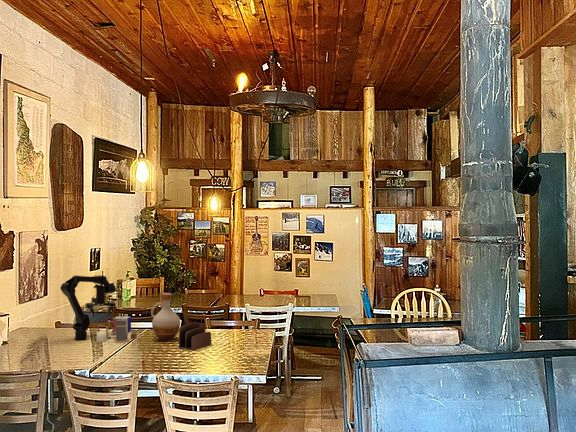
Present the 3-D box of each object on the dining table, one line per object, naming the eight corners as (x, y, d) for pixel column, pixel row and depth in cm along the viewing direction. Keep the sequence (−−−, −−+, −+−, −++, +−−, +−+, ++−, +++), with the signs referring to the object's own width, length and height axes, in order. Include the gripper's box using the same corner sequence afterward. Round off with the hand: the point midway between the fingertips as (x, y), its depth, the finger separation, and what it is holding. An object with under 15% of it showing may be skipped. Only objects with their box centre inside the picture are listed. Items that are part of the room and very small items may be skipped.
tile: (117, 342, 353) (117, 341, 353) (113, 340, 360) (113, 339, 360) (129, 341, 357) (129, 339, 357) (126, 339, 364) (126, 337, 364)
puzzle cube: (126, 333, 385) (126, 318, 386) (112, 333, 386) (112, 318, 386) (131, 330, 395) (131, 316, 396) (116, 330, 396) (117, 316, 396)
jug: (144, 341, 357) (144, 294, 358) (157, 336, 374) (157, 291, 375) (172, 343, 353) (173, 295, 353) (184, 337, 370) (185, 292, 370)
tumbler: (115, 340, 355) (116, 320, 356) (118, 338, 362) (118, 319, 362) (125, 340, 356) (125, 320, 356) (127, 338, 362) (127, 319, 362)
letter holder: (178, 349, 336) (178, 325, 337) (198, 343, 354) (198, 320, 354) (191, 350, 332) (192, 326, 332) (211, 344, 349) (211, 321, 350)
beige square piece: (97, 342, 354) (97, 333, 354) (95, 341, 359) (95, 331, 359) (107, 341, 357) (107, 332, 358) (105, 340, 362) (105, 330, 363)
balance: (96, 340, 361) (96, 325, 361) (94, 339, 365) (94, 324, 365) (119, 338, 368) (119, 323, 368) (117, 336, 373) (117, 322, 373)
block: (130, 339, 366) (130, 334, 366) (131, 338, 369) (131, 333, 369) (135, 339, 366) (135, 334, 366) (136, 338, 369) (136, 333, 369)
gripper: (111, 292, 389) (111, 314, 389) (83, 293, 379) (83, 317, 379) (115, 293, 380) (115, 317, 380) (87, 295, 370) (87, 319, 370)
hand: (100, 317), depth 377 cm, fingers open, 9 cm apart
